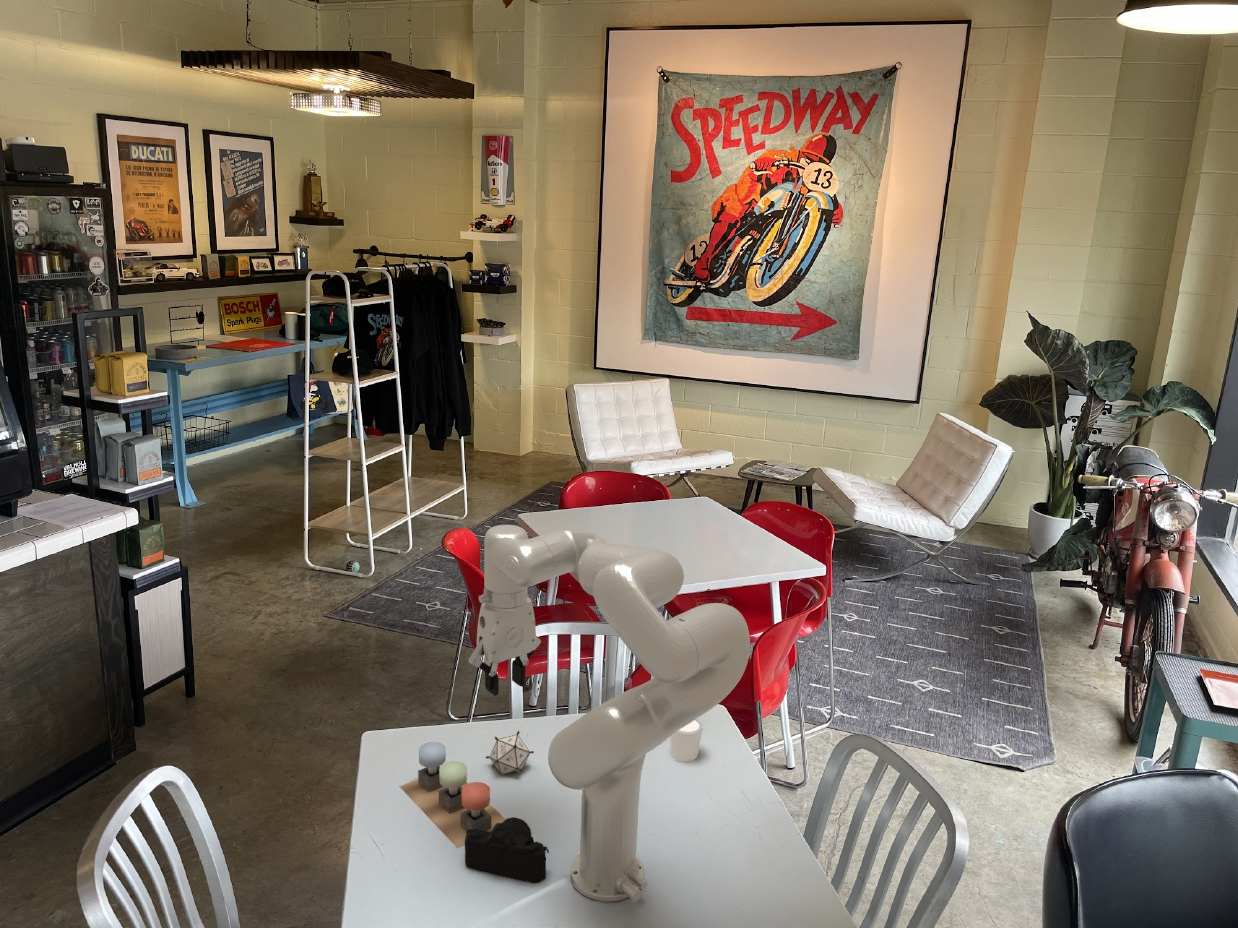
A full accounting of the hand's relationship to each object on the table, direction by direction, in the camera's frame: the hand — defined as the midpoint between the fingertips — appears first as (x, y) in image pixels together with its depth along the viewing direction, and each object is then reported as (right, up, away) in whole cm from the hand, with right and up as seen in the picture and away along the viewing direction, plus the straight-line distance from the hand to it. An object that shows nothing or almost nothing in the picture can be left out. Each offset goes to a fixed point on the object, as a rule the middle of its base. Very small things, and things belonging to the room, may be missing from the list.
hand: (505, 686), depth 169 cm
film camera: (+2, -29, -8) cm, 30 cm away
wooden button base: (-10, -24, +6) cm, 27 cm away
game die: (-1, -22, +18) cm, 28 cm away
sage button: (-10, -21, +5) cm, 24 cm away
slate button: (-15, -19, +10) cm, 26 cm away
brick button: (-5, -23, -1) cm, 23 cm away
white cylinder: (+34, -21, +26) cm, 48 cm away
